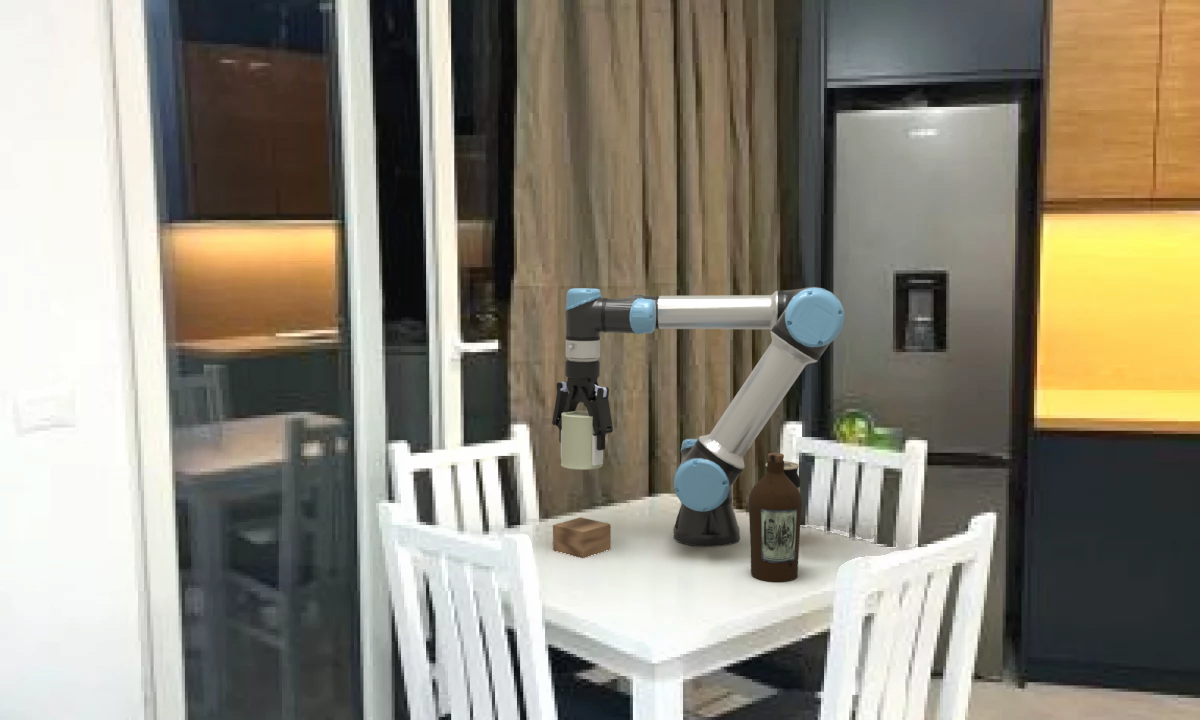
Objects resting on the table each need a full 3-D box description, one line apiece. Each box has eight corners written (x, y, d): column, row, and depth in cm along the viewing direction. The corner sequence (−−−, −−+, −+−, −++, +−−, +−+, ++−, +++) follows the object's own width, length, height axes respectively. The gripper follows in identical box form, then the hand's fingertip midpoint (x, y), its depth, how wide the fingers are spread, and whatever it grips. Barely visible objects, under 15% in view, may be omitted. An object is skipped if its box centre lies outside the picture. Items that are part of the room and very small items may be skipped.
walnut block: (610, 550, 237) (610, 524, 237) (583, 559, 231) (583, 532, 230) (580, 543, 243) (580, 517, 243) (553, 551, 237) (552, 525, 236)
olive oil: (743, 568, 223) (744, 449, 221) (794, 567, 224) (796, 449, 221) (753, 583, 213) (754, 459, 210) (806, 582, 213) (808, 459, 211)
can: (560, 461, 240) (560, 408, 239) (601, 461, 241) (602, 408, 239) (561, 469, 231) (561, 414, 230) (603, 469, 232) (604, 414, 230)
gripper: (535, 356, 238) (535, 456, 240) (607, 364, 223) (606, 471, 226) (559, 354, 243) (559, 452, 246) (631, 362, 229) (629, 466, 231)
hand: (581, 461), depth 236 cm, fingers closed on can, 9 cm apart
